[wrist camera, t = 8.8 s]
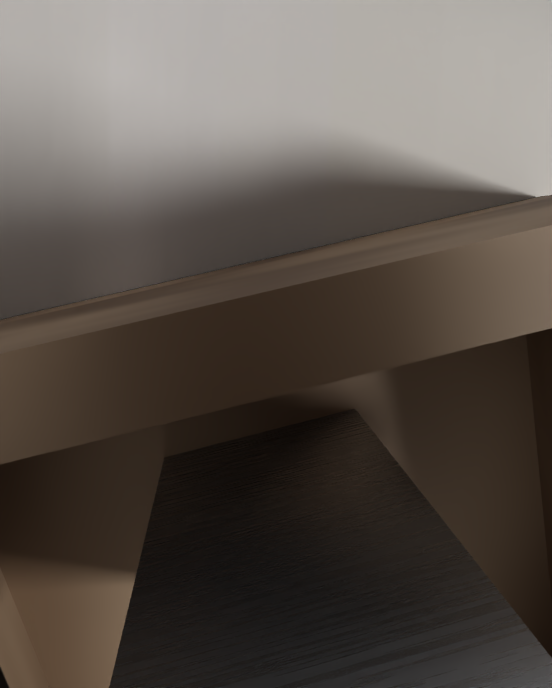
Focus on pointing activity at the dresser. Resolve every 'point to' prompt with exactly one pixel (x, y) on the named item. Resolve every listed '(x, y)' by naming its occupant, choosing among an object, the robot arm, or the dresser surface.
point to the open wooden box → (276, 411)
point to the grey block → (312, 575)
